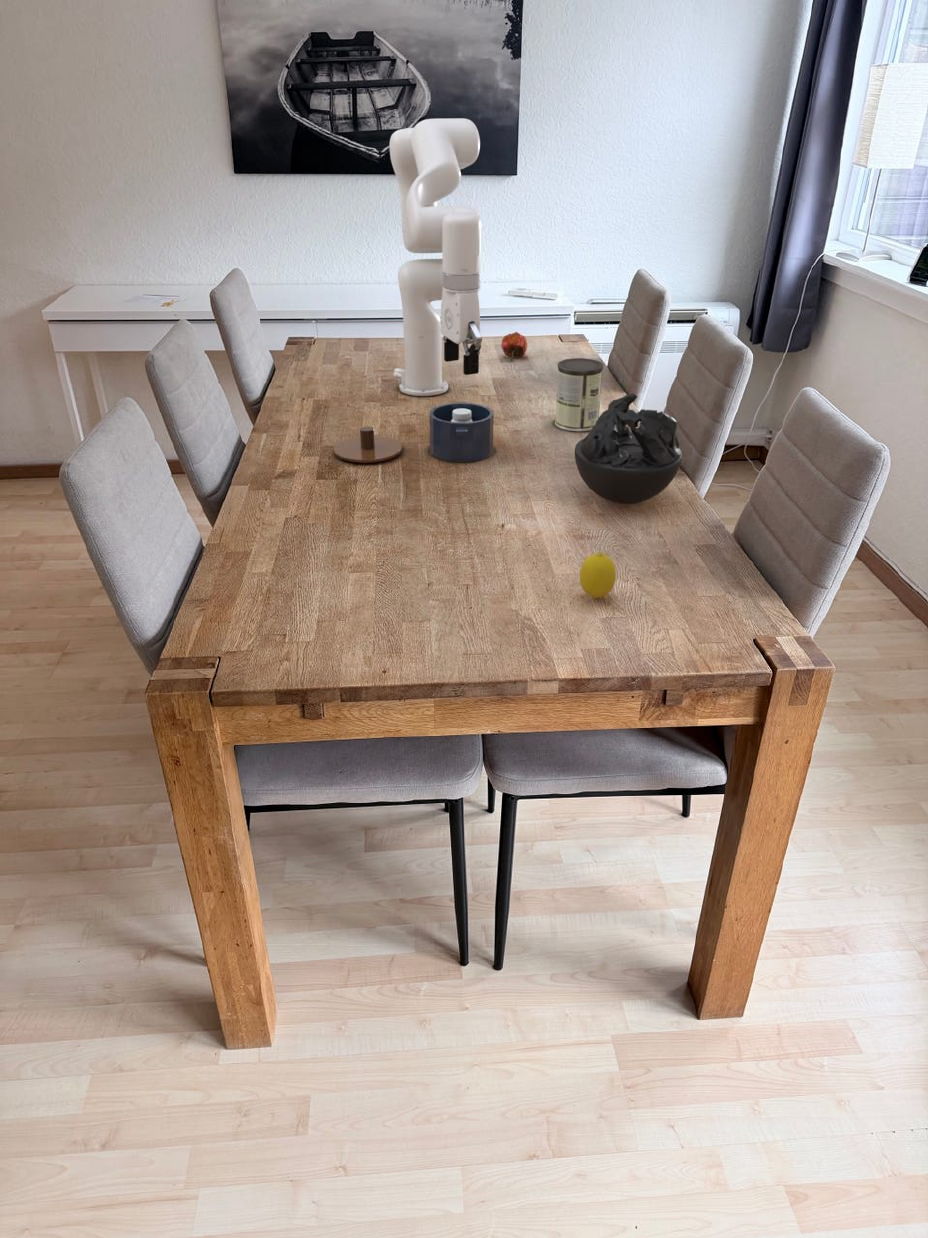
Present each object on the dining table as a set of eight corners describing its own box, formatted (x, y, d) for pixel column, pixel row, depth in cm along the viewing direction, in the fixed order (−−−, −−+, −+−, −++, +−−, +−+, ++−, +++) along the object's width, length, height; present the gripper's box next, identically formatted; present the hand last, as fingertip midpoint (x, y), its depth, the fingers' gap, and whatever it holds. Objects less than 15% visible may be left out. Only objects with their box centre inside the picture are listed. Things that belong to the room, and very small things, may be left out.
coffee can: (562, 414, 217) (566, 355, 210) (604, 420, 213) (609, 360, 206) (547, 427, 209) (551, 367, 202) (590, 434, 205) (595, 372, 198)
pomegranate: (525, 368, 257) (534, 340, 261) (518, 352, 251) (527, 323, 254) (501, 368, 260) (510, 340, 264) (494, 352, 254) (503, 323, 257)
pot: (429, 467, 189) (428, 428, 184) (431, 435, 205) (430, 398, 200) (494, 467, 189) (495, 427, 184) (491, 435, 205) (491, 398, 200)
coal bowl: (652, 530, 163) (664, 430, 153) (553, 506, 172) (559, 409, 162) (690, 492, 178) (704, 399, 168) (597, 471, 187) (605, 381, 177)
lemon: (575, 590, 145) (578, 545, 140) (609, 588, 145) (613, 544, 141) (581, 607, 140) (585, 562, 136) (617, 606, 140) (621, 560, 136)
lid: (330, 465, 189) (328, 440, 187) (338, 440, 202) (336, 417, 199) (400, 465, 190) (399, 440, 187) (403, 440, 202) (402, 417, 199)
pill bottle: (470, 453, 194) (470, 415, 190) (448, 451, 195) (448, 413, 190) (474, 445, 198) (475, 408, 194) (453, 443, 199) (453, 406, 194)
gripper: (427, 273, 184) (428, 357, 193) (462, 292, 170) (461, 381, 180) (460, 270, 186) (460, 353, 196) (497, 288, 173) (495, 376, 182)
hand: (461, 367), depth 188 cm, fingers open, 9 cm apart
